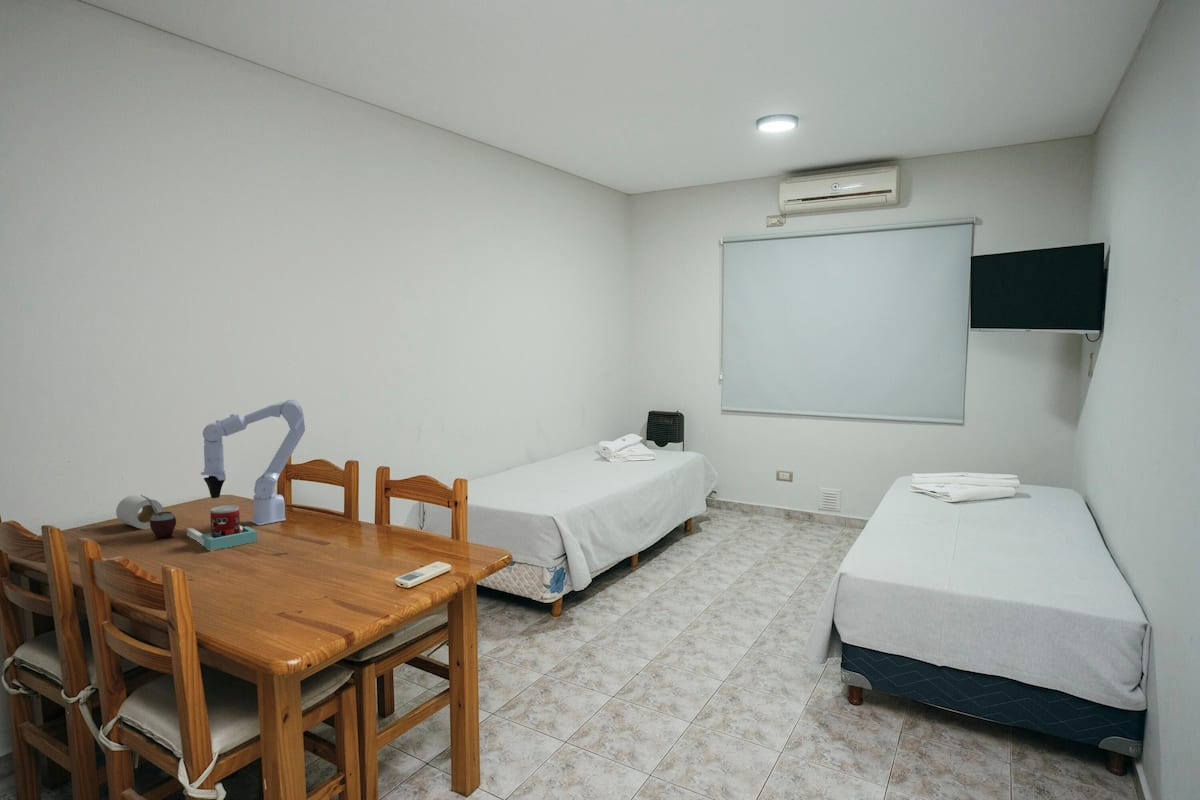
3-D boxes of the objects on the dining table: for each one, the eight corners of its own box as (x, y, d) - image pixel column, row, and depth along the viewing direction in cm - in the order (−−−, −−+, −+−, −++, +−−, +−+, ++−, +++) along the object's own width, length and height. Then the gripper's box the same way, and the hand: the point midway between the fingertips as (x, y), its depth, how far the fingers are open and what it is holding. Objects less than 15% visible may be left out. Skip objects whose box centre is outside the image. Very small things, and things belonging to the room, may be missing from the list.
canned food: (206, 542, 211) (205, 508, 210) (232, 536, 218) (231, 503, 217) (219, 547, 207) (218, 512, 206) (244, 541, 214) (243, 507, 213)
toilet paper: (163, 525, 229) (162, 496, 228) (131, 532, 220) (130, 502, 219) (149, 520, 234) (147, 492, 233) (116, 527, 225) (115, 498, 224)
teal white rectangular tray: (231, 527, 227) (231, 517, 227) (257, 541, 213) (256, 531, 213) (186, 536, 217) (186, 525, 217) (210, 551, 203) (210, 540, 203)
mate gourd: (181, 535, 218) (179, 490, 217) (163, 542, 210) (161, 496, 209) (160, 534, 219) (158, 489, 218) (141, 541, 211) (139, 494, 210)
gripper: (193, 457, 229) (195, 495, 230) (208, 463, 219) (210, 503, 221) (216, 454, 234) (217, 492, 235) (231, 460, 224) (232, 499, 226)
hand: (215, 497), depth 228 cm, fingers closed
